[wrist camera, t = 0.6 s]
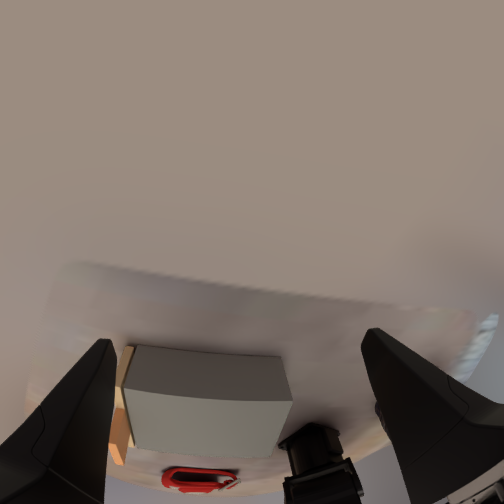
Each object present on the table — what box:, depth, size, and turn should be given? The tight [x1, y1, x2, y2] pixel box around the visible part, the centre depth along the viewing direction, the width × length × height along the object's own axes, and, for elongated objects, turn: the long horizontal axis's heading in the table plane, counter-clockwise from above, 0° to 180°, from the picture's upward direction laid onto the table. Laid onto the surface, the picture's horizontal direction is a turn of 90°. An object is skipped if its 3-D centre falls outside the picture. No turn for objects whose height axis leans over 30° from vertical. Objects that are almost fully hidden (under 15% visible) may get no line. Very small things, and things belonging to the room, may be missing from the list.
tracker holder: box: [161, 468, 241, 494], centre depth 35 cm, size 12×4×10 cm
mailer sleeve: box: [124, 344, 293, 458], centre depth 26 cm, size 14×10×6 cm
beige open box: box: [108, 346, 135, 465], centre depth 23 cm, size 14×10×10 cm
